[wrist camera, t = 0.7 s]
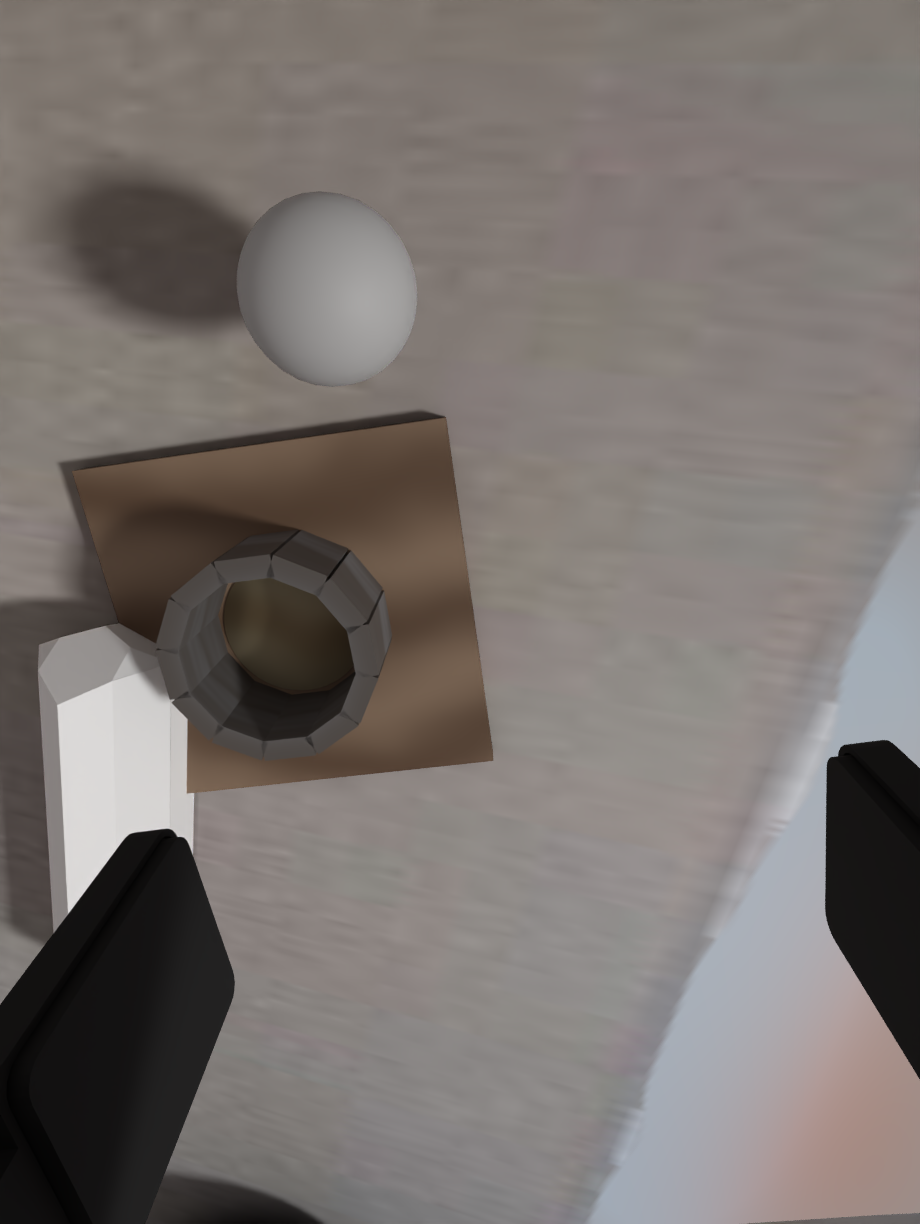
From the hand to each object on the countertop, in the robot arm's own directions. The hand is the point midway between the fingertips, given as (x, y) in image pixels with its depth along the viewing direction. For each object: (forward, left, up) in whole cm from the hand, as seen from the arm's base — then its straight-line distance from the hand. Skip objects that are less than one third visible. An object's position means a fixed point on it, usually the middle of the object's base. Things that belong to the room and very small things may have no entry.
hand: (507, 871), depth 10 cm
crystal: (+14, -23, -27) cm, 38 cm away
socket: (+4, -10, -26) cm, 28 cm away
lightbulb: (-10, -4, -26) cm, 28 cm away
